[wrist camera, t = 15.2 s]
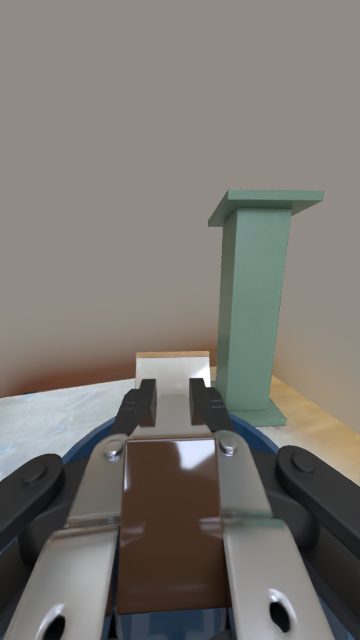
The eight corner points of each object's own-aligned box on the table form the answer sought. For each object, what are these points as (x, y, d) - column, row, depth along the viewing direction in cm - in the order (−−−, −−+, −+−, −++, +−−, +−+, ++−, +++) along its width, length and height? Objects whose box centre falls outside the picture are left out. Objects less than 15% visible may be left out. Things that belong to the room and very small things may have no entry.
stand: (287, 428, 29) (324, 190, 21) (216, 430, 28) (228, 189, 21) (254, 383, 40) (270, 220, 33) (203, 385, 40) (208, 220, 32)
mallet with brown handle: (346, 602, 3) (283, 294, 5) (-15, 628, 3) (50, 296, 4) (202, 413, 19) (199, 358, 20) (145, 415, 18) (147, 359, 20)
